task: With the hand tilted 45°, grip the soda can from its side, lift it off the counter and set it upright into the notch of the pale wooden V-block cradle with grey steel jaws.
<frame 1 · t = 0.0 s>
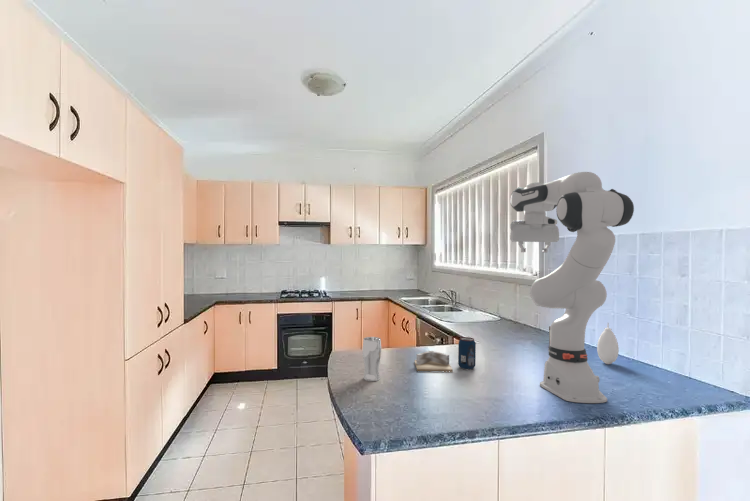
hand: (534, 252, 169), 48 cm above the worktop, tool pointing down, fingers open, 8 cm apart
v block: (432, 366, 160), on the worktop
food container: (558, 349, 193), on the worktop
soda can: (466, 368, 160), on the worktop
white tall egg shape: (607, 364, 168), on the worktop
beer glass: (371, 379, 145), on the worktop
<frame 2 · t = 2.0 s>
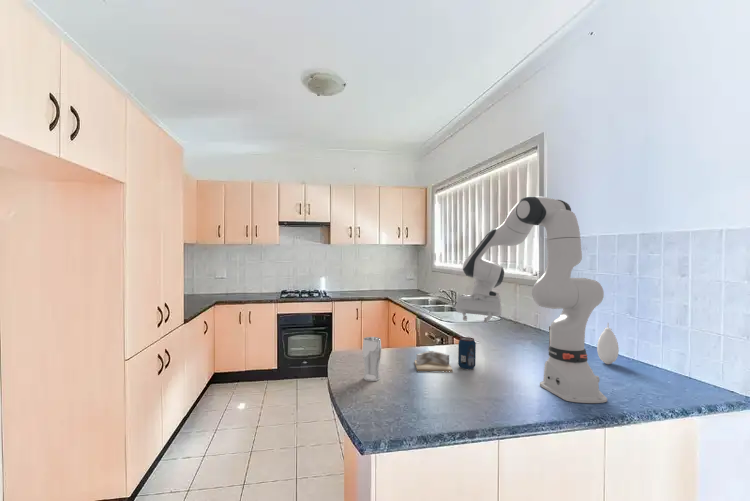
hand: (475, 321, 171), 17 cm above the worktop, tool tilted 45°, fingers open, 8 cm apart
nothing on the worktop moved.
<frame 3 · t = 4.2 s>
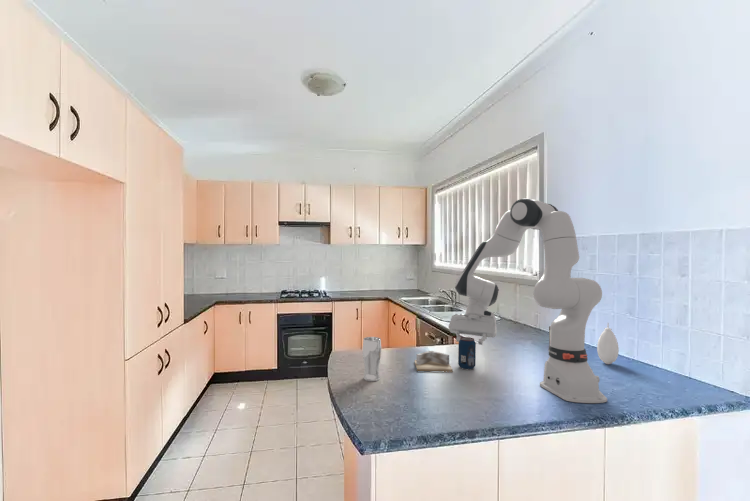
hand: (469, 342, 163), 10 cm above the worktop, tool tilted 45°, fingers open, 8 cm apart
nothing on the worktop moved.
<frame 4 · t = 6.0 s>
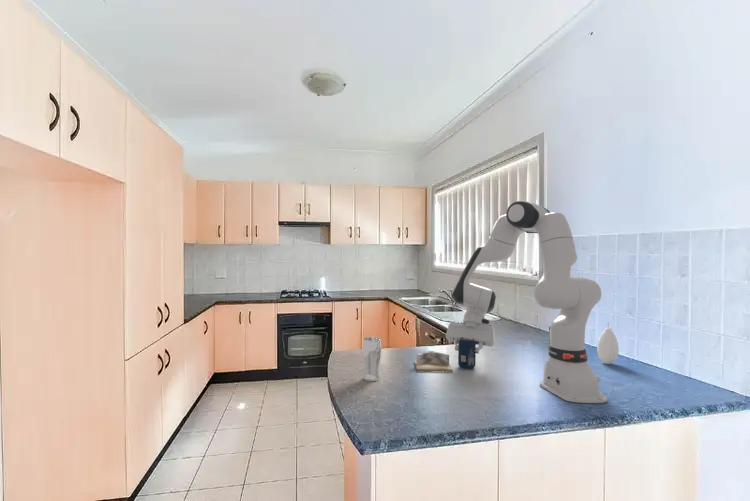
hand: (466, 351, 160), 7 cm above the worktop, tool tilted 45°, fingers closed on soda can, 7 cm apart
soda can: (466, 368, 160), on the worktop, touching gripper
everything else where it was.
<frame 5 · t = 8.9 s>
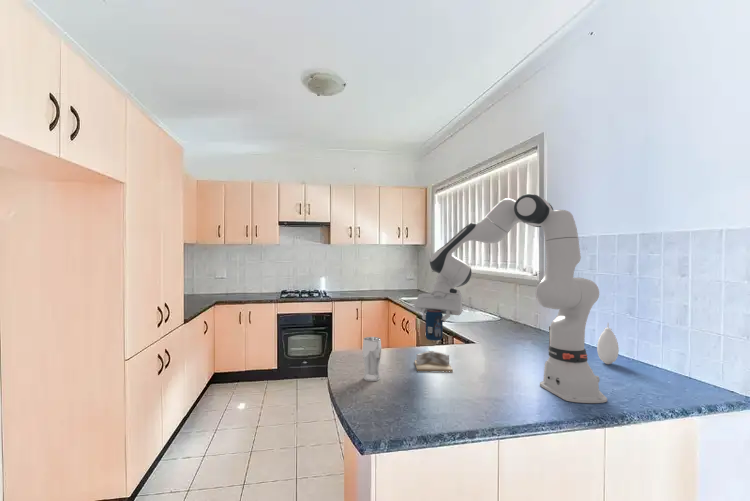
hand: (433, 320, 159), 20 cm above the worktop, tool tilted 45°, fingers closed on soda can, 7 cm apart
soda can: (433, 340, 159), point 11 cm above the worktop, touching gripper
everything else where it was.
when the fingers open (9 cm above the worktop, at t = 11.8 s): soda can stays where it is, resting on v block.
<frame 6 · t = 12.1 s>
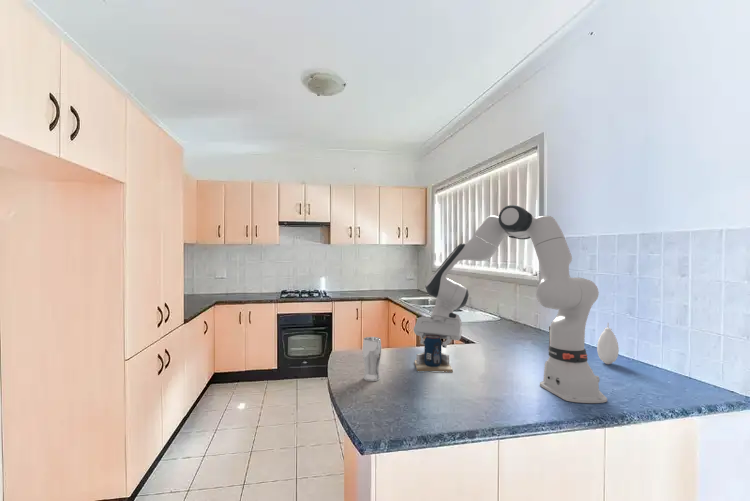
hand: (432, 345, 159), 9 cm above the worktop, tool tilted 45°, fingers open, 8 cm apart
soda can: (432, 365, 159), point 1 cm above the worktop, touching v block
everything else where it was.
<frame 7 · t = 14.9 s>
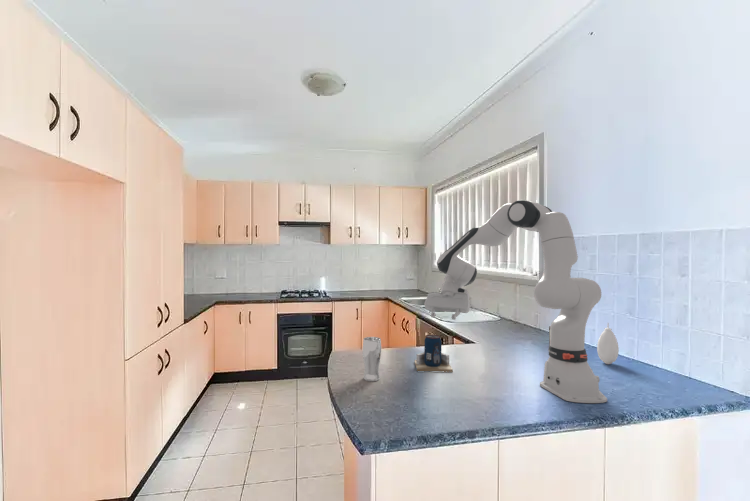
hand: (442, 317, 170), 19 cm above the worktop, tool tilted 45°, fingers open, 8 cm apart
nothing on the worktop moved.
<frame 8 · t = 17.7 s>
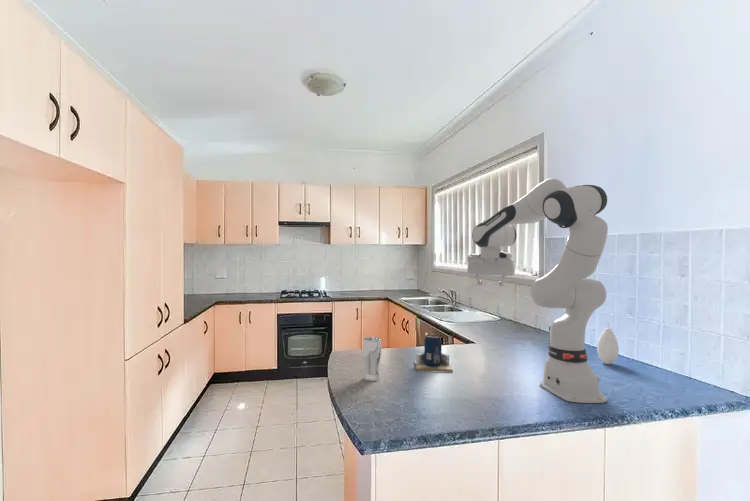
hand: (490, 285, 173), 33 cm above the worktop, tool pointing down, fingers open, 8 cm apart
nothing on the worktop moved.
at the end: soda can 0.2 cm from the target spot on the v block, point 0.8 cm above the v block's base; soda can tilted 0°; the gripper is holding nothing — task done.
